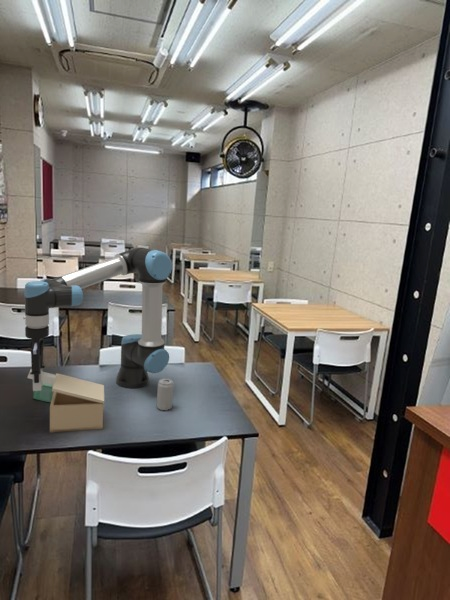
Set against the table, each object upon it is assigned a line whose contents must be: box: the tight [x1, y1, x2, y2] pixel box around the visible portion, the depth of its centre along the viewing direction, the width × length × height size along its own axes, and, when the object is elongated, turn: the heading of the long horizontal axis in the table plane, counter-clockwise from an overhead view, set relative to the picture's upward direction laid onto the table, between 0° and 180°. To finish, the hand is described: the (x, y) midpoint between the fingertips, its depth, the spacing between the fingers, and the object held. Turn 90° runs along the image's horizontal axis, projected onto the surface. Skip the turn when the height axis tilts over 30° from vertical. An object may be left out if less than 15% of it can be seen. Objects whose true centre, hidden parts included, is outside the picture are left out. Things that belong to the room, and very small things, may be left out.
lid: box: [27, 368, 105, 404], centre depth 148 cm, size 27×14×2 cm, turn 107°
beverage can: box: [156, 378, 174, 411], centre depth 168 cm, size 6×6×12 cm
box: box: [32, 382, 54, 404], centre depth 168 cm, size 7×14×8 cm, turn 75°
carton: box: [49, 392, 104, 434], centre depth 151 cm, size 18×14×10 cm
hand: (37, 387), depth 145 cm, fingers closed on lid, 3 cm apart
